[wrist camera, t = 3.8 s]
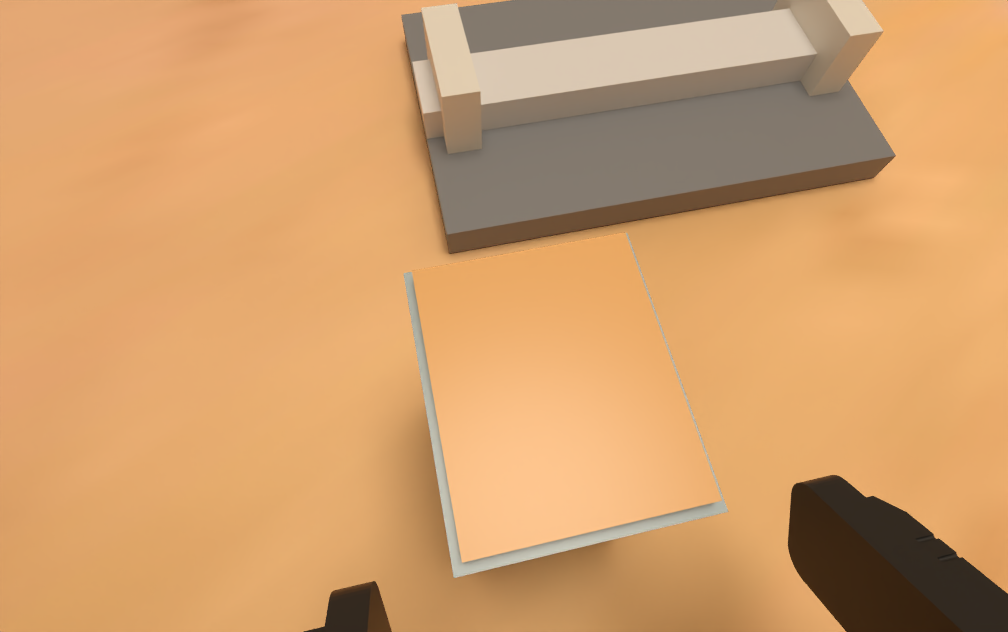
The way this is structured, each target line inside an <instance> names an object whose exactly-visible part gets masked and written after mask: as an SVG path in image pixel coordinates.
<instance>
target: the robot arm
mask: <svg viewBox="0 0 1008 632" xmlns="http://www.w3.org/2000/svg"><path fill="white" fill-rule="evenodd" d="M788 549H789V553H790V557H791V560H792V562H793V565H794V567H795V569H796V570H797V572H798V574H799V575H800V577H801V578H802V579H803V581H804V582H805V583H806V584H807V585H808V587H809V588H810V589H811V590H812V591H813V593H814V594H815V595H816V596H817V597H818V598H819V600H820V601H821V602H822V603H823V604H824V606H825V607H826V608H827V609H828V610H829V612H830V613H831V614H832V615H833V616H834V618H835V619H836V620H837V621H838V622H839V623H840V625H841V626H842V627H843V628H844V629H845V631H846V632H1008V594H1007V593H1006V592H1005V591H1003V590H1002V589H1001V588H1000V587H998V586H997V585H996V584H995V583H994V582H992V581H991V580H990V579H989V578H987V577H986V576H985V575H984V574H982V573H981V572H980V571H979V570H977V569H976V568H975V567H974V566H972V565H971V564H970V563H969V562H967V561H966V560H965V559H964V558H963V557H962V558H959V557H958V556H957V554H956V552H955V551H954V550H953V549H951V548H950V547H949V546H948V545H946V544H945V543H944V542H943V541H941V540H940V539H936V538H935V537H934V535H933V533H932V532H930V531H929V530H928V529H927V528H925V527H924V526H923V525H922V524H920V523H919V522H918V521H917V520H915V519H914V518H913V517H912V516H910V515H909V514H908V513H907V512H905V511H903V510H901V509H899V508H897V507H895V506H893V505H891V504H889V503H887V502H885V501H883V500H880V499H878V498H876V497H874V496H871V497H867V498H866V497H865V496H863V495H862V494H861V493H860V492H859V491H858V490H856V489H855V488H854V487H853V486H852V485H850V484H849V483H848V482H847V481H846V480H844V479H843V478H841V477H840V476H837V475H830V476H826V477H822V478H818V479H813V480H809V481H805V482H801V483H796V484H795V485H794V486H793V488H792V493H791V506H790V521H789V535H788ZM304 632H392V631H391V628H390V625H389V621H388V618H387V615H386V611H385V608H384V605H383V601H382V598H381V595H380V592H379V588H378V586H377V584H376V582H375V581H373V582H369V583H364V584H360V585H356V586H352V587H347V588H343V589H339V590H335V591H333V592H332V593H331V595H330V599H329V604H328V610H327V616H326V622H325V627H321V628H317V629H313V630H308V631H304Z"/></svg>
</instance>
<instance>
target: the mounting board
mask: <svg viewBox="0 0 1008 632" xmlns="http://www.w3.org/2000/svg"><path fill="white" fill-rule="evenodd" d="M421 11H422V12H420V13H413V14H405V15H401V16H402V22H403V28H404V34H405V40H406V45H407V50H408V54H409V59H410V64H411V69H412V74H413V79H414V83H415V88H416V93H417V98H418V103H419V108H420V113H421V117H422V122H423V127H424V132H425V137H426V142H427V146H428V151H429V156H430V161H431V166H432V171H433V176H434V180H435V185H436V190H437V195H438V200H439V205H440V209H441V214H442V219H443V224H444V229H445V234H446V239H447V243H448V248H449V253H455V252H461V251H467V250H472V249H478V248H483V247H489V246H494V245H500V244H506V243H511V242H517V241H522V240H528V239H534V238H539V237H545V236H550V235H556V234H561V233H567V232H573V231H578V230H584V229H589V228H595V227H600V226H606V225H612V224H617V223H623V222H628V221H634V220H640V219H645V218H651V217H656V216H662V215H667V214H673V213H679V212H684V211H690V210H695V209H701V208H706V207H712V206H718V205H723V204H729V203H734V202H740V201H746V200H751V199H757V198H762V197H768V196H773V195H779V194H785V193H790V192H796V191H801V190H807V189H812V188H818V187H824V186H829V185H835V184H840V183H846V182H852V181H857V180H863V179H868V178H874V177H875V176H876V175H877V174H878V173H879V172H880V171H881V170H882V169H883V168H884V167H885V166H886V165H887V164H888V163H889V162H890V161H891V160H892V159H893V158H894V157H895V156H896V155H895V154H894V152H893V150H892V149H891V147H890V146H889V144H888V143H887V141H886V139H885V138H884V136H883V135H882V133H881V131H880V130H879V128H878V127H877V125H876V124H875V122H874V120H873V119H872V117H871V116H870V114H869V113H868V111H867V109H866V108H865V106H864V105H863V103H862V102H861V100H860V98H859V97H858V95H857V94H856V92H855V91H854V89H853V87H852V86H851V84H850V83H849V81H848V79H849V77H850V76H851V75H852V73H853V72H854V71H855V69H856V68H857V67H858V65H859V64H860V62H861V61H862V60H863V58H864V57H865V56H866V54H867V53H868V52H869V50H870V49H871V48H872V46H873V45H874V44H875V42H876V41H877V40H878V38H879V37H880V35H881V34H882V33H883V29H882V28H881V27H880V25H879V24H878V22H877V21H876V19H875V18H874V17H873V15H872V14H871V12H870V11H869V10H868V8H867V7H866V5H865V4H864V2H863V1H862V0H511V1H504V2H496V3H488V4H481V5H473V6H466V7H458V6H457V3H456V4H448V5H440V6H433V7H425V8H421Z"/></svg>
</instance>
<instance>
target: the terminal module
mask: <svg viewBox="0 0 1008 632" xmlns="http://www.w3.org/2000/svg"><path fill="white" fill-rule="evenodd" d="M404 279H405V285H406V291H407V297H408V303H409V309H410V315H411V322H412V328H413V334H414V340H415V346H416V352H417V358H418V364H419V370H420V376H421V382H422V388H423V394H424V400H425V406H426V413H427V419H428V425H429V431H430V437H431V443H432V449H433V455H434V461H435V467H436V473H437V479H438V485H439V491H440V497H441V504H442V510H443V516H444V522H445V528H446V534H447V540H448V546H449V552H450V558H451V564H452V570H453V576H454V578H456V577H460V576H464V575H468V574H473V573H477V572H481V571H485V570H489V569H493V568H497V567H502V566H506V565H510V564H514V563H518V562H522V561H526V560H530V559H535V558H539V557H543V556H547V555H551V554H555V553H559V552H564V551H568V550H572V549H576V548H580V547H584V546H588V545H593V544H597V543H601V542H605V541H609V540H613V539H617V538H622V537H626V536H630V535H634V534H638V533H642V532H646V531H651V530H655V529H659V528H663V527H667V526H671V525H675V524H679V523H684V522H688V521H692V520H696V519H700V518H704V517H708V516H713V515H717V514H721V513H725V512H728V510H727V507H726V504H725V501H724V499H723V496H722V493H721V490H720V487H719V485H718V482H717V479H716V476H715V474H714V471H713V468H712V465H711V463H710V460H709V457H708V454H707V452H706V449H705V446H704V443H703V441H702V438H701V435H700V432H699V430H698V427H697V424H696V421H695V419H694V416H693V413H692V410H691V408H690V405H689V402H688V399H687V396H686V394H685V391H684V388H683V385H682V383H681V380H680V377H679V374H678V372H677V369H676V366H675V363H674V361H673V358H672V355H671V352H670V350H669V347H668V344H667V341H666V339H665V336H664V333H663V330H662V328H661V325H660V322H659V319H658V316H657V314H656V311H655V308H654V305H653V303H652V300H651V297H650V294H649V292H648V289H647V286H646V283H645V281H644V278H643V275H642V272H641V270H640V267H639V264H638V261H637V259H636V256H635V253H634V250H633V248H632V245H631V242H630V239H629V236H628V234H627V233H625V232H623V233H617V234H612V235H606V236H601V237H595V238H590V239H584V240H579V241H573V242H568V243H562V244H557V245H551V246H546V247H540V248H535V249H529V250H524V251H518V252H512V253H507V254H501V255H496V256H490V257H485V258H479V259H474V260H468V261H463V262H457V263H452V264H446V265H441V266H435V267H430V268H424V269H419V270H413V271H412V272H409V273H404Z"/></svg>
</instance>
